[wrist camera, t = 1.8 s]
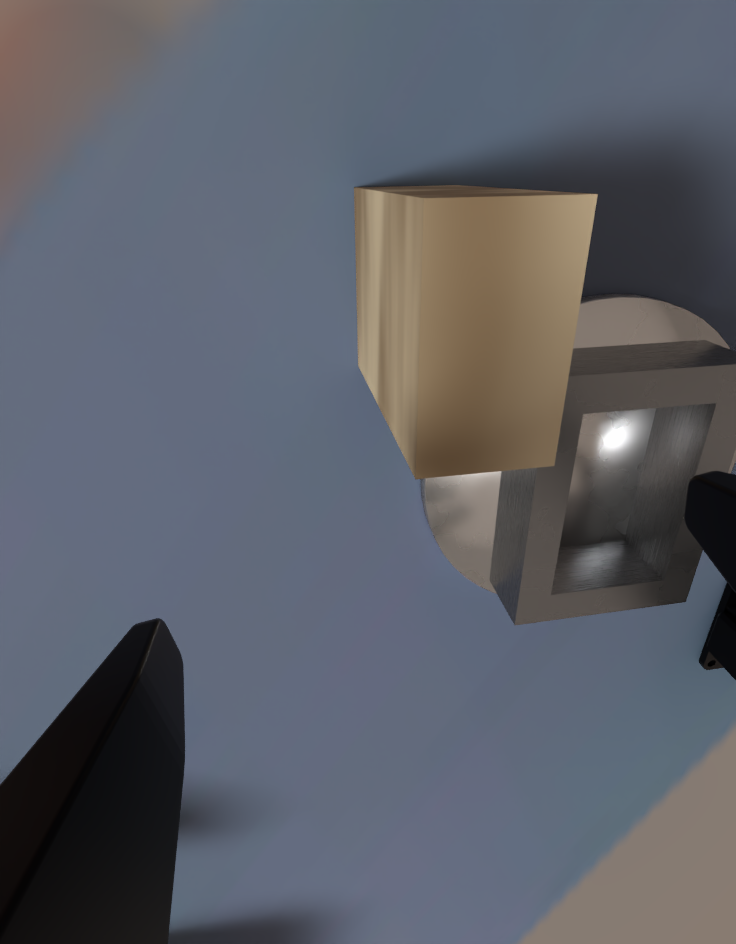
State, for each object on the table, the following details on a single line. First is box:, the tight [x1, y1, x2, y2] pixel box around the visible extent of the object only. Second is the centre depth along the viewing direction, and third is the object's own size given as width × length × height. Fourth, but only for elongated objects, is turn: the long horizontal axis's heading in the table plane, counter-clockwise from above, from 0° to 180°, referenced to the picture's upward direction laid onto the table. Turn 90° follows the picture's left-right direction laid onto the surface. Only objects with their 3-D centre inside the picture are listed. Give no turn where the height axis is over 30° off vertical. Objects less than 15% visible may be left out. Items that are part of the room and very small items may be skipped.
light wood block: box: [354, 185, 598, 479], centre depth 16 cm, size 4×6×9 cm, turn 1°
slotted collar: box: [421, 294, 736, 625], centre depth 23 cm, size 14×14×4 cm
